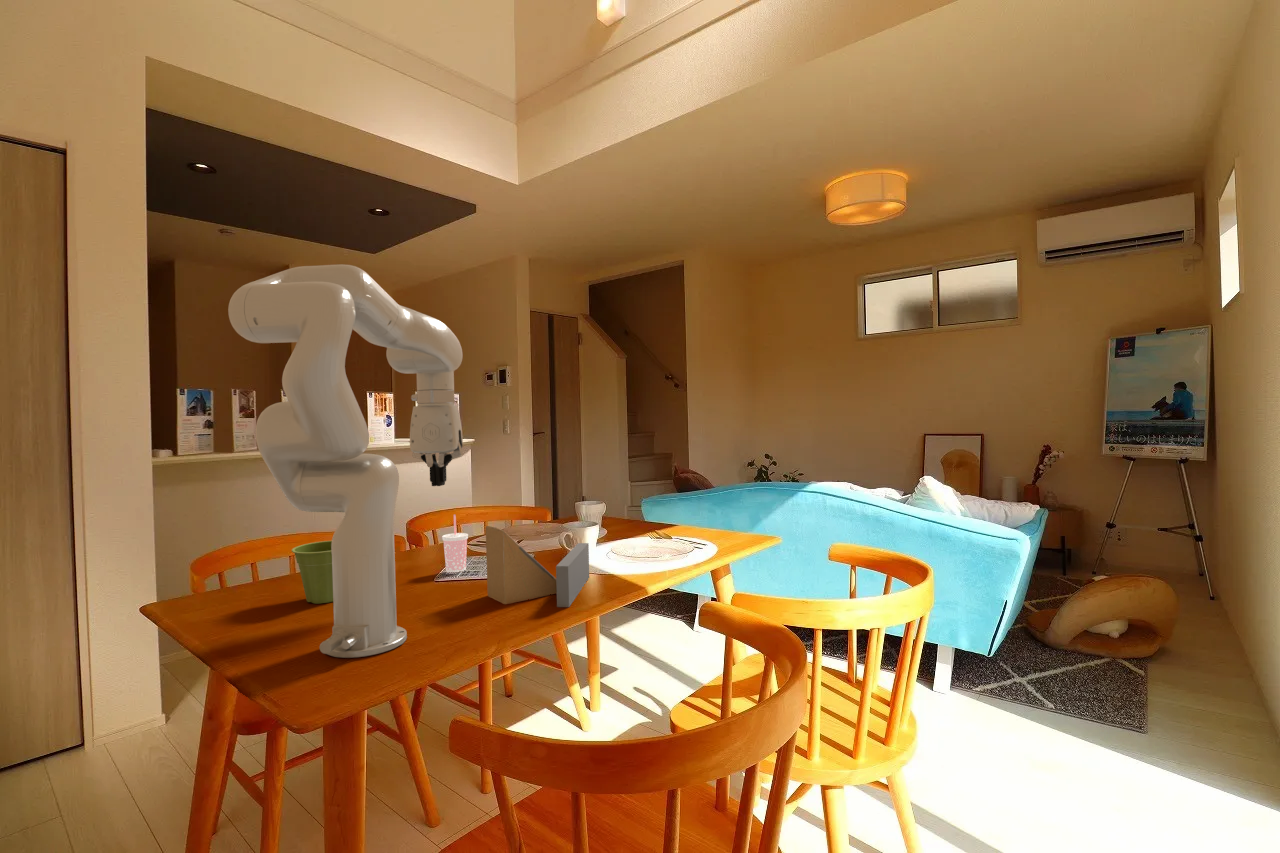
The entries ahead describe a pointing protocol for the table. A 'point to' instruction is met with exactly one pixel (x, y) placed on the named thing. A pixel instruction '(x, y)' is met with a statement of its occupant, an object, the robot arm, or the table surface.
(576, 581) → the board
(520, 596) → the beige triangular wedge
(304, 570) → the plant pot
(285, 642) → the table surface
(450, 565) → the beverage cup
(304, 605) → the table surface
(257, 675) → the table surface
